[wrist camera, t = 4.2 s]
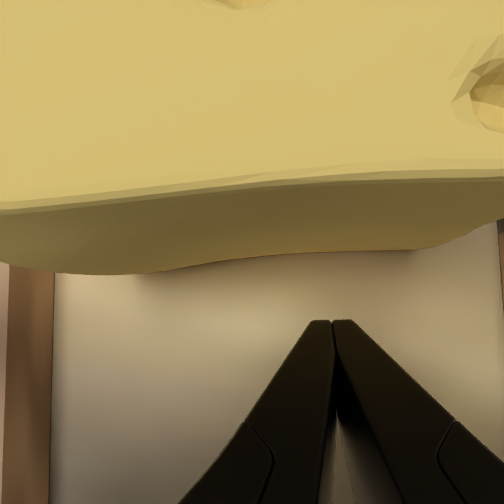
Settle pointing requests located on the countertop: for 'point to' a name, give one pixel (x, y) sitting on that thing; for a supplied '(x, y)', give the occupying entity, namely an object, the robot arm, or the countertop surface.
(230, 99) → the cheese
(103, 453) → the countertop surface
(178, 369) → the countertop surface
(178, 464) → the countertop surface
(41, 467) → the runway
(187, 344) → the countertop surface
